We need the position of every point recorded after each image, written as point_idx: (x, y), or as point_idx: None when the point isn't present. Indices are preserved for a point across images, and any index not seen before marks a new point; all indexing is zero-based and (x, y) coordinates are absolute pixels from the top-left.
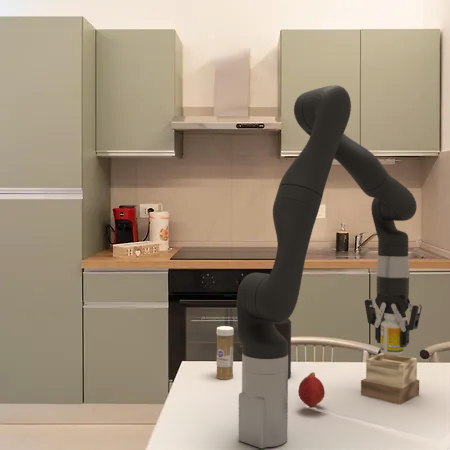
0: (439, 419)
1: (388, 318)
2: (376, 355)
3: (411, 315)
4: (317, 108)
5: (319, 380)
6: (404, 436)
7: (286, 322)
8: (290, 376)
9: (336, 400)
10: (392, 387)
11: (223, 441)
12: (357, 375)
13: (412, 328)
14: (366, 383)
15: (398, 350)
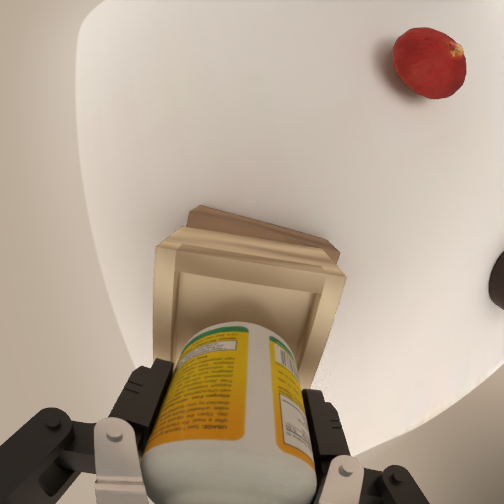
0: (89, 145)
1: None
2: (313, 367)
3: (6, 487)
4: None
5: (430, 52)
6: (150, 2)
7: None
8: (491, 283)
9: (376, 155)
10: (216, 218)
11: None
12: (358, 391)
13: (43, 413)
14: (318, 245)
15: (187, 346)
